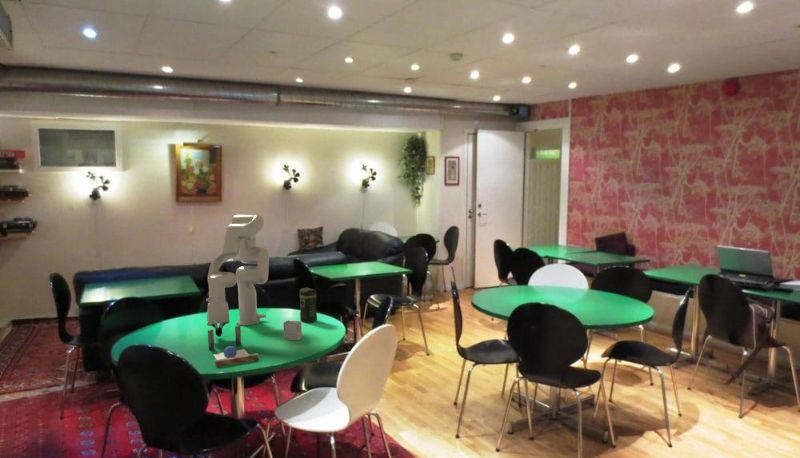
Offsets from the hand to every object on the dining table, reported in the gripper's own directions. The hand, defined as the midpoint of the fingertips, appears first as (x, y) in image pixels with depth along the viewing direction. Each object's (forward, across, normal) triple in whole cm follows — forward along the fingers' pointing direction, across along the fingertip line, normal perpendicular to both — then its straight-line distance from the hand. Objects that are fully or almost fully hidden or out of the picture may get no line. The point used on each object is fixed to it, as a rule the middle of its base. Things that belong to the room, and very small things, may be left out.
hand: (218, 335), depth 273 cm
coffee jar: (+2, +50, +9) cm, 51 cm away
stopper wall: (+2, 0, -41) cm, 41 cm away
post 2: (+2, +6, -15) cm, 16 cm away
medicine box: (+2, +32, -19) cm, 37 cm away
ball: (-1, -1, -33) cm, 33 cm away
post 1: (+2, -6, -15) cm, 16 cm away
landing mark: (+2, 0, -31) cm, 31 cm away
